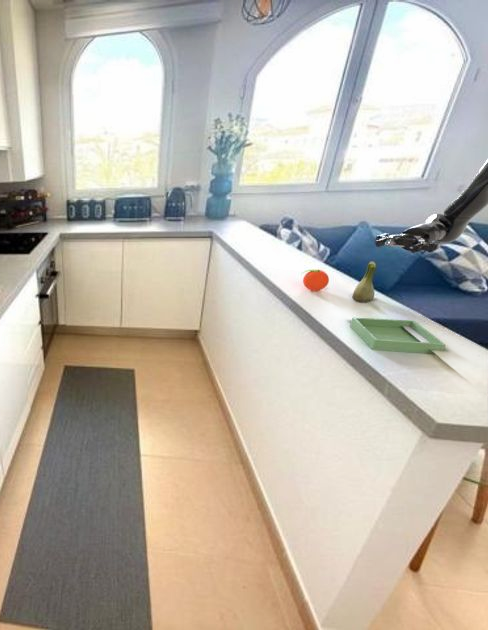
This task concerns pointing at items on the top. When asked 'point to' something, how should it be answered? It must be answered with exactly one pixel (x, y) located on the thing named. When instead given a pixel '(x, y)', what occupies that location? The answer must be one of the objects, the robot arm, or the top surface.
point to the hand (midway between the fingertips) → (395, 246)
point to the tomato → (315, 280)
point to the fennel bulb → (365, 286)
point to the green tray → (394, 335)
